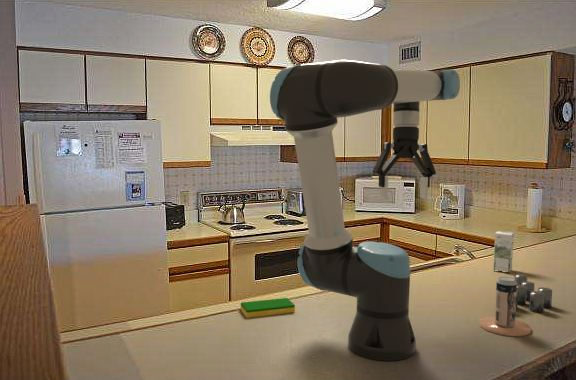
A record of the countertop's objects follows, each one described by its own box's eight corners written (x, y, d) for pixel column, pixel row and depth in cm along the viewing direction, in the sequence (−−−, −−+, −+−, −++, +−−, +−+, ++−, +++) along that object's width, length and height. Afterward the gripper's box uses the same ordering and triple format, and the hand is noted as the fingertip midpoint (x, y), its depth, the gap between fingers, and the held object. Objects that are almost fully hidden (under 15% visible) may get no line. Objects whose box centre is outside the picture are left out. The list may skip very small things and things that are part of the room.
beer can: (513, 329, 120) (516, 282, 119) (493, 325, 123) (495, 279, 122) (516, 323, 125) (518, 278, 123) (496, 320, 127) (498, 275, 126)
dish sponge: (240, 310, 136) (240, 302, 136) (286, 305, 141) (287, 297, 141) (246, 319, 130) (246, 310, 130) (295, 313, 134) (295, 305, 134)
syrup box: (512, 270, 180) (514, 231, 179) (509, 273, 175) (511, 234, 174) (495, 268, 183) (497, 230, 182) (493, 271, 178) (494, 232, 177)
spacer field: (477, 305, 140) (478, 288, 140) (517, 288, 157) (517, 273, 157) (530, 319, 130) (531, 301, 129) (566, 299, 146) (567, 283, 146)
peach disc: (504, 339, 116) (504, 336, 116) (469, 321, 127) (469, 319, 127) (542, 332, 120) (542, 330, 120) (505, 316, 131) (505, 314, 131)
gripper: (433, 129, 151) (431, 198, 152) (362, 125, 143) (360, 197, 144) (449, 127, 144) (447, 199, 145) (375, 123, 136) (373, 199, 137)
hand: (404, 198), depth 144 cm, fingers open, 13 cm apart
